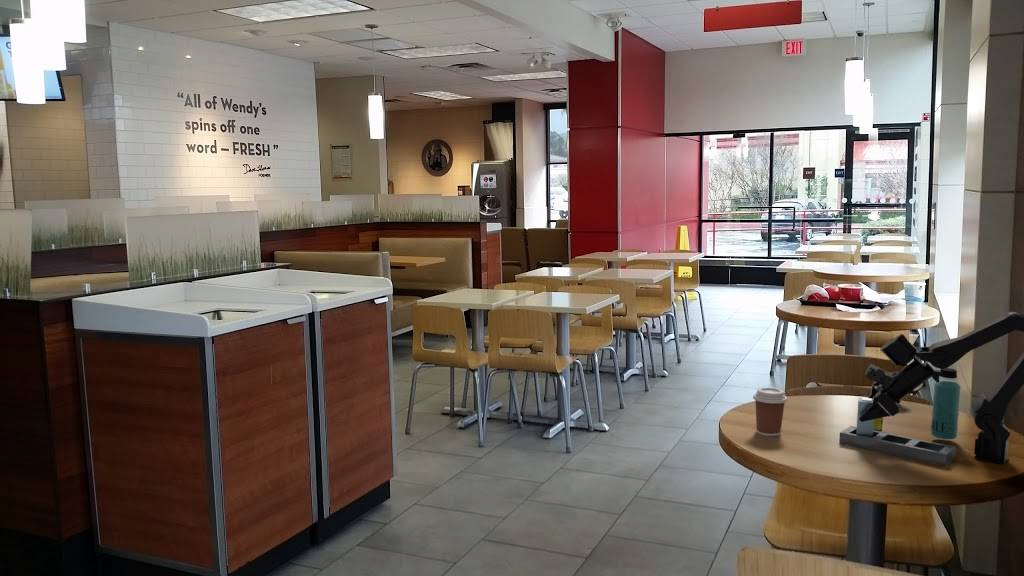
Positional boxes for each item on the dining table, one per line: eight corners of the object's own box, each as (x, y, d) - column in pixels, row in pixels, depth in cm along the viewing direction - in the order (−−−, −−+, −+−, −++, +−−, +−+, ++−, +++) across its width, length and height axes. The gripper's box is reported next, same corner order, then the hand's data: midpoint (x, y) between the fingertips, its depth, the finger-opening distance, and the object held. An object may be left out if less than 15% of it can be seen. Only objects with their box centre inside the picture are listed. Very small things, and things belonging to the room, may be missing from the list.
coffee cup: (765, 425, 234) (767, 384, 232) (792, 433, 226) (794, 391, 225) (744, 431, 228) (746, 389, 227) (771, 439, 221) (773, 396, 219)
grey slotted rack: (954, 458, 207) (955, 446, 207) (945, 466, 201) (946, 454, 201) (850, 436, 224) (850, 425, 224) (839, 443, 218) (839, 432, 218)
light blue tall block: (871, 442, 219) (874, 398, 217) (872, 447, 215) (875, 401, 214) (855, 440, 220) (858, 396, 219) (855, 445, 217) (858, 400, 215)
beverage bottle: (957, 439, 222) (963, 367, 219) (956, 446, 216) (962, 372, 213) (930, 436, 225) (935, 364, 222) (928, 442, 219) (934, 369, 217)
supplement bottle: (883, 434, 226) (885, 405, 225) (865, 433, 227) (867, 404, 226) (879, 429, 231) (881, 400, 230) (861, 428, 232) (863, 399, 230)
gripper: (884, 349, 222) (838, 384, 227) (887, 363, 205) (837, 401, 210) (914, 380, 220) (867, 415, 225) (920, 396, 203) (869, 434, 208)
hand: (859, 415), depth 217 cm, fingers open, 9 cm apart
